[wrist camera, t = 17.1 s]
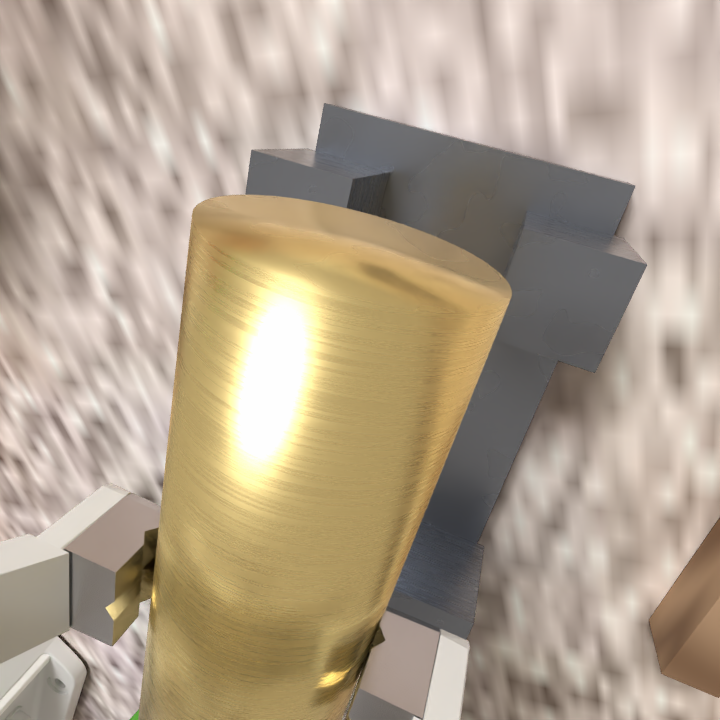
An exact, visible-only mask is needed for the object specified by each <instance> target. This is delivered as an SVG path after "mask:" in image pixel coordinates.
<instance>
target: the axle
mask: <svg viewBox="0 0 720 720" xmlns="http://www.w3.org/2000/svg"><path fill="white" fill-rule="evenodd" d="M511 297H512V290H511V286H510V285H509V283H508V281H507V280H506V279H505V278H504V277H503V276H502V275H501V274H500V273H499V272H498V271H497V270H496V269H494V268H493V267H492V266H490V265H489V264H488V263H486V262H485V261H483V260H482V259H480V258H478V257H476V256H475V255H473V254H471V253H469V252H468V251H466V250H464V249H462V248H460V247H458V246H456V245H454V244H451V243H449V242H447V241H445V240H443V239H440V238H438V237H435V236H433V235H431V234H428V233H425V232H423V231H420V230H418V229H415V228H412V227H409V226H406V225H404V224H400V223H397V222H394V221H391V220H388V219H385V218H381V217H378V216H375V215H371V214H367V213H364V212H360V211H356V210H352V209H348V208H343V207H339V206H334V205H330V204H325V203H319V202H314V201H308V200H302V199H295V198H287V197H279V196H267V195H229V196H220V197H215V198H211V199H208V200H205V201H203V202H201V203H199V204H198V205H197V206H196V207H195V208H194V209H193V213H192V221H191V230H190V240H189V249H188V258H187V268H186V277H185V286H184V296H183V305H182V314H181V324H180V333H179V342H178V352H177V361H176V371H175V380H174V389H173V399H172V408H171V417H170V427H169V436H168V445H167V455H166V464H165V473H164V483H163V492H162V501H161V511H160V520H159V529H158V539H157V548H156V557H155V567H154V576H153V586H152V595H151V604H150V614H149V623H148V632H147V642H146V651H145V660H144V670H143V679H142V688H141V698H140V707H139V716H138V720H342V717H343V715H344V712H345V710H346V707H347V705H348V702H349V700H350V697H351V695H352V692H353V690H354V687H355V685H356V682H357V680H358V677H359V675H360V673H361V670H362V668H363V665H364V663H365V660H366V657H367V655H368V652H369V650H370V648H371V645H372V642H373V639H374V636H375V634H376V631H377V629H378V626H379V623H380V621H381V618H382V616H383V614H384V612H385V610H386V608H387V605H388V603H389V600H390V598H391V595H392V593H393V591H394V588H395V586H396V583H397V581H398V578H399V576H400V573H401V571H402V568H403V566H404V563H405V561H406V558H407V556H408V553H409V551H410V548H411V546H412V543H413V541H414V538H415V536H416V533H417V531H418V528H419V526H420V523H421V521H422V518H423V516H424V513H425V511H426V508H427V506H428V504H429V501H430V499H431V496H432V494H433V491H434V489H435V486H436V484H437V481H438V479H439V476H440V474H441V471H442V469H443V466H444V464H445V461H446V459H447V456H448V454H449V451H450V449H451V446H452V444H453V441H454V439H455V436H456V434H457V431H458V429H459V426H460V424H461V422H462V419H463V417H464V414H465V412H466V409H467V407H468V404H469V402H470V399H471V397H472V394H473V392H474V389H475V387H476V384H477V382H478V379H479V377H480V374H481V372H482V369H483V367H484V364H485V362H486V359H487V357H488V354H489V352H490V349H491V347H492V344H493V342H494V339H495V337H496V335H497V332H498V330H499V327H500V325H501V322H502V320H503V317H504V315H505V312H506V310H507V307H508V305H509V302H510V300H511Z"/></svg>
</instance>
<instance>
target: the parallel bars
mask: <svg viewBox="0 0 720 720" xmlns="http://www.w3.org/2000/svg"><path fill="white" fill-rule="evenodd" d="M649 622H650V627H651V631H652V635H653V640H654V644H655V648H656V652H657V657H658V661H659V665H660V670H661V674H663V675H665V676H668V677H670V678H673V679H675V680H677V681H680V682H682V683H684V684H687V685H689V686H692V687H694V688H696V689H699V690H701V691H703V692H706V693H708V694H711V695H713V696H715V697H718V698H719V697H720V518H719V520H718V521H717V522H716V524H715V525H714V527H713V528H712V530H711V531H710V533H709V534H708V535H707V537H706V538H705V540H704V541H703V543H702V544H701V546H700V547H699V548H698V550H697V551H696V553H695V554H694V556H693V557H692V558H691V560H690V561H689V563H688V564H687V566H686V567H685V569H684V570H683V571H682V573H681V574H680V576H679V577H678V579H677V580H676V582H675V583H674V584H673V586H672V587H671V589H670V590H669V592H668V593H667V595H666V596H665V597H664V599H663V600H662V602H661V603H660V605H659V606H658V607H657V609H656V610H655V612H654V613H653V615H652V616H651V618H650V619H649Z"/></svg>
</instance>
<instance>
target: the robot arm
mask: <svg viewBox="0 0 720 720" xmlns="http://www.w3.org/2000/svg"><path fill="white" fill-rule="evenodd" d="M160 511H161V506H159V505H157V504H155V503H153V502H151V501H149V500H147V499H145V498H143V497H140V496H138V495H136V494H134V493H131V492H129V491H127V490H125V489H123V488H121V487H118V486H116V485H114V484H112V483H110V484H107V485H104V486H101V487H100V488H99V489H97V490H96V491H95V492H94V493H92V494H91V495H90V496H88V497H87V498H86V499H84V500H83V501H82V502H81V503H79V504H78V505H77V506H75V507H74V508H73V509H72V510H70V511H69V512H68V513H66V514H65V515H64V516H63V517H61V518H60V519H59V520H57V521H56V522H55V523H54V524H52V525H51V526H50V527H48V528H47V529H46V530H45V531H43V532H42V533H41V534H39V535H38V536H37V537H36V536H33V535H31V534H27V535H23V536H20V537H16V538H12V539H8V540H5V541H1V542H0V720H72V719H73V715H74V712H75V709H76V706H77V703H78V700H79V697H80V693H81V690H82V687H83V684H84V681H85V678H86V674H87V672H86V668H85V666H84V664H83V663H82V661H81V660H80V659H79V658H78V656H77V655H76V654H75V653H74V652H73V651H72V650H71V649H70V648H69V647H68V646H67V645H66V644H65V643H64V642H63V641H62V640H61V639H60V638H59V637H58V635H61V634H63V633H65V632H67V631H69V629H70V627H71V628H73V629H75V630H77V631H80V632H82V633H84V634H86V635H88V636H90V637H93V638H95V639H97V640H99V641H101V642H103V643H106V644H108V645H110V646H113V645H114V644H115V643H116V642H117V640H118V639H119V638H120V637H121V636H122V635H123V633H124V632H125V631H126V630H127V629H128V628H129V626H130V625H131V624H132V623H133V622H134V621H135V619H136V618H137V617H138V613H139V603H140V602H142V601H145V600H148V599H150V598H151V595H152V586H153V576H154V567H155V557H156V548H157V539H158V529H159V520H160ZM469 652H470V645H469V641H467V640H465V639H463V638H460V637H458V636H456V635H454V634H451V633H449V632H447V631H444V630H442V629H440V630H439V627H436V626H434V625H432V624H429V623H427V622H424V621H422V620H420V619H417V618H415V617H413V616H410V615H408V614H406V613H403V612H401V611H399V610H396V609H394V608H392V607H389V606H387V608H386V610H385V612H384V614H383V616H382V618H381V621H380V623H379V626H378V629H377V631H376V634H375V636H374V639H373V642H372V645H371V648H370V650H369V652H368V655H367V657H366V660H365V663H364V665H363V668H362V671H361V674H360V677H359V680H358V683H357V686H356V689H355V692H354V696H353V699H352V702H351V705H350V707H349V710H348V713H347V716H346V718H345V720H461V713H462V705H463V698H464V690H465V682H466V675H467V667H468V659H469Z"/></svg>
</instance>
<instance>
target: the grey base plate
mask: <svg viewBox="0 0 720 720" xmlns="http://www.w3.org/2000/svg"><path fill="white" fill-rule="evenodd" d="M634 188H635V185H632V184H629V183H626V182H622V181H618V180H614V179H610V178H607V177H603V176H599V175H595V174H592V173H588V172H584V171H580V170H577V169H573V168H569V167H565V166H562V165H558V164H554V163H550V162H546V161H543V160H539V159H535V158H531V157H528V156H524V155H520V154H516V153H513V152H509V151H505V150H501V149H497V148H494V147H490V146H486V145H482V144H479V143H475V142H471V141H467V140H464V139H460V138H456V137H452V136H448V135H445V134H441V133H437V132H433V131H430V130H426V129H422V128H418V127H415V126H411V125H407V124H403V123H399V122H396V121H392V120H388V119H384V118H381V117H377V116H373V115H369V114H366V113H362V112H358V111H354V110H350V109H347V108H343V107H339V106H335V105H331V104H326V103H324V107H323V113H322V118H321V124H320V129H319V135H318V140H317V146H316V151H314V150H310V149H265V150H251V158H250V165H249V172H248V180H247V187H246V195H267V196H279V197H287V198H295V199H302V200H308V201H314V202H319V203H325V204H330V205H334V206H339V207H343V208H348V209H352V210H356V211H360V212H364V213H367V214H371V215H375V216H378V217H381V218H385V219H388V220H391V221H394V222H397V223H400V224H404V225H406V226H409V227H412V228H415V229H418V230H420V231H423V232H425V233H428V234H431V235H433V236H435V237H438V238H440V239H443V240H445V241H447V242H449V243H451V244H454V245H456V246H458V247H460V248H462V249H464V250H466V251H468V252H469V253H471V254H473V255H475V256H476V257H478V258H480V259H482V260H483V261H485V262H486V263H488V264H489V265H490V266H492V267H493V268H494V269H496V270H497V271H498V272H499V273H500V274H501V275H502V276H503V277H504V278H505V279H506V280H507V281H508V283H509V285H510V286H511V290H512V297H511V300H510V302H509V305H508V307H507V310H506V312H505V315H504V317H503V320H502V322H501V325H500V327H499V330H498V332H497V335H496V337H495V339H494V342H493V344H492V347H491V349H490V352H489V354H488V357H487V359H486V362H485V364H484V367H483V369H482V372H481V374H480V377H479V379H478V382H477V384H476V387H475V389H474V392H473V394H472V397H471V399H470V402H469V404H468V407H467V409H466V412H465V414H464V417H463V419H462V422H461V424H460V426H459V429H458V431H457V434H456V436H455V439H454V441H453V444H452V446H451V449H450V451H449V454H448V456H447V459H446V461H445V464H444V466H443V469H442V471H441V474H440V476H439V479H438V481H437V484H436V486H435V489H434V491H433V494H432V496H431V499H430V501H429V504H428V506H427V508H426V511H425V513H424V516H423V518H422V521H421V523H420V526H419V528H418V531H417V533H416V536H415V538H414V541H413V543H412V546H411V548H410V551H409V553H408V556H407V558H406V561H405V563H404V566H403V568H402V571H401V573H400V576H399V578H398V581H397V583H396V586H395V588H394V591H393V593H392V595H391V598H390V600H389V603H388V605H387V606H389V607H392V608H394V609H396V610H399V611H401V612H403V613H406V614H408V615H410V616H413V617H415V618H417V619H420V620H422V621H424V622H427V623H429V624H432V625H434V626H436V627H439V630H440V629H442V630H444V631H447V632H449V633H451V634H454V635H456V636H458V637H460V638H463V639H465V640H466V639H467V637H468V635H469V633H470V631H471V628H472V626H473V624H474V618H475V610H476V603H477V595H478V588H479V580H480V573H481V565H482V558H483V551H484V546H482V545H480V544H477V542H478V540H479V538H480V536H481V533H482V531H483V529H484V527H485V524H486V522H487V520H488V518H489V515H490V513H491V511H492V509H493V506H494V504H495V502H496V500H497V497H498V495H499V493H500V490H501V488H502V486H503V484H504V481H505V479H506V477H507V475H508V472H509V470H510V468H511V466H512V463H513V461H514V459H515V457H516V454H517V452H518V450H519V448H520V445H521V443H522V441H523V439H524V436H525V434H526V432H527V430H528V427H529V425H530V423H531V421H532V418H533V416H534V414H535V412H536V409H537V407H538V405H539V403H540V400H541V398H542V396H543V394H544V391H545V389H546V387H547V385H548V382H549V380H550V378H551V376H552V373H553V371H554V369H555V366H556V364H557V362H558V361H560V362H563V363H566V364H569V365H572V366H575V367H578V368H581V369H584V370H587V371H590V372H593V373H595V372H596V370H597V368H598V366H599V364H600V362H601V359H602V357H603V355H604V353H605V351H606V349H607V347H608V345H609V343H610V341H611V339H612V337H613V335H614V333H615V330H616V328H617V326H618V324H619V322H620V320H621V318H622V316H623V314H624V312H625V310H626V308H627V306H628V304H629V302H630V299H631V297H632V295H633V293H634V291H635V289H636V287H637V285H638V283H639V281H640V279H641V277H642V275H643V273H644V270H645V268H646V266H647V264H646V263H645V261H644V260H643V259H642V258H641V257H640V256H639V255H638V254H637V253H636V252H635V250H634V249H633V248H632V247H631V246H630V245H629V244H628V243H627V242H626V241H625V239H624V238H621V237H617V236H614V233H615V231H616V229H617V227H618V224H619V222H620V220H621V218H622V215H623V213H624V211H625V209H626V206H627V204H628V202H629V200H630V197H631V195H632V193H633V191H634Z"/></svg>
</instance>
